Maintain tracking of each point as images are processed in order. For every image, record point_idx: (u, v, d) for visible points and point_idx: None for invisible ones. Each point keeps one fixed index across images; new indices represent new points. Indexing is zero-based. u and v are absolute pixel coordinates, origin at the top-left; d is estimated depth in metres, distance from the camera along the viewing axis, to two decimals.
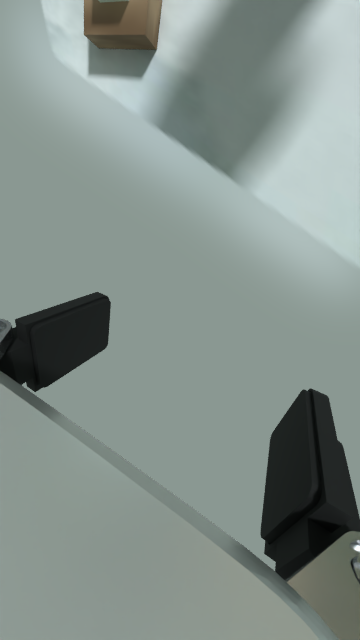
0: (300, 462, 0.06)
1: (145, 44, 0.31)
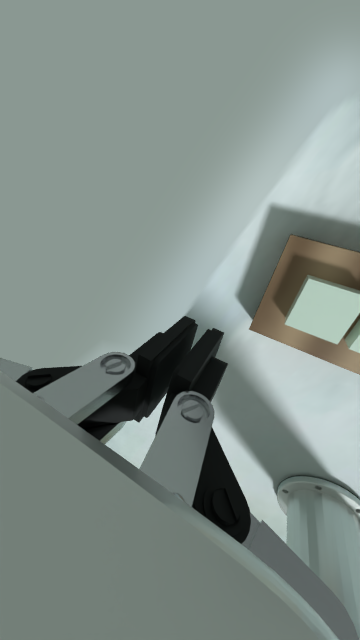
0: None
1: (255, 315, 0.27)
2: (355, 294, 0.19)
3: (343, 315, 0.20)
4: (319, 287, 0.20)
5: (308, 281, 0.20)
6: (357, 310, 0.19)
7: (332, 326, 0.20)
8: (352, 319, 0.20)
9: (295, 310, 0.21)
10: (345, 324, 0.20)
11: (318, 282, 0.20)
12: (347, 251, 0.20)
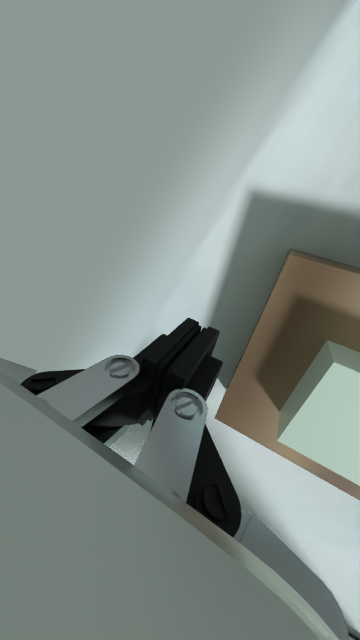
0: None
1: None
2: None
3: None
4: (359, 385, 0.08)
5: (332, 368, 0.08)
6: None
7: None
8: None
9: (300, 420, 0.10)
10: None
11: (358, 373, 0.08)
12: None
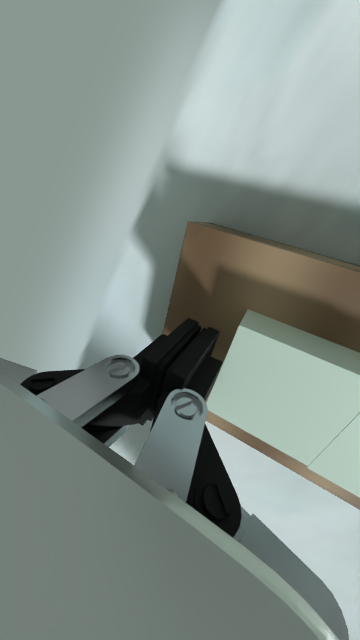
0: None
1: None
2: (346, 372, 0.07)
3: (318, 413, 0.08)
4: (262, 346, 0.08)
5: (239, 331, 0.09)
6: (352, 409, 0.08)
7: (295, 430, 0.09)
8: (339, 425, 0.08)
9: (220, 386, 0.10)
10: (323, 432, 0.09)
11: (260, 335, 0.08)
12: (301, 258, 0.09)
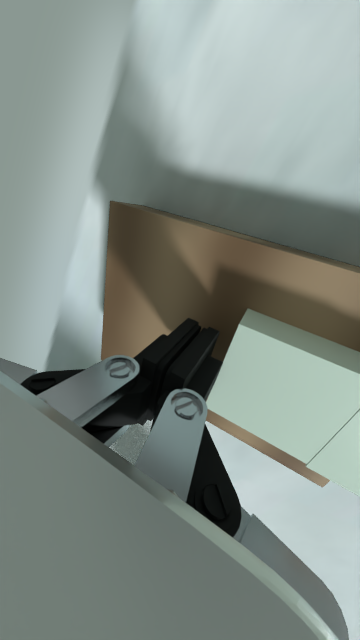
0: None
1: None
2: (345, 371, 0.07)
3: (318, 411, 0.08)
4: (262, 345, 0.08)
5: (239, 329, 0.09)
6: (350, 406, 0.08)
7: (295, 428, 0.09)
8: (338, 423, 0.08)
9: (220, 385, 0.10)
10: (322, 430, 0.09)
11: (260, 334, 0.08)
12: (195, 228, 0.10)
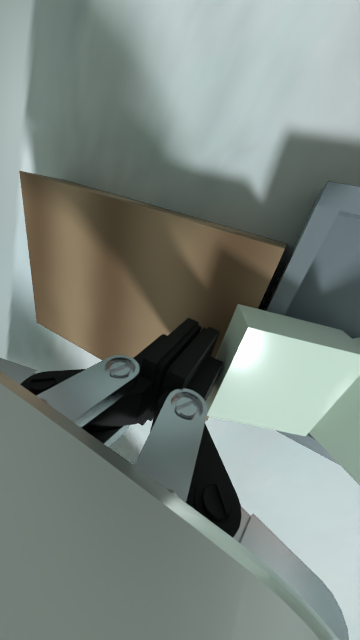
0: None
1: None
2: (346, 354, 0.08)
3: (319, 392, 0.09)
4: (272, 344, 0.08)
5: (247, 333, 0.08)
6: (347, 382, 0.09)
7: (297, 411, 0.10)
8: (335, 397, 0.09)
9: (225, 391, 0.09)
10: (321, 406, 0.09)
11: (270, 334, 0.08)
12: (81, 191, 0.12)
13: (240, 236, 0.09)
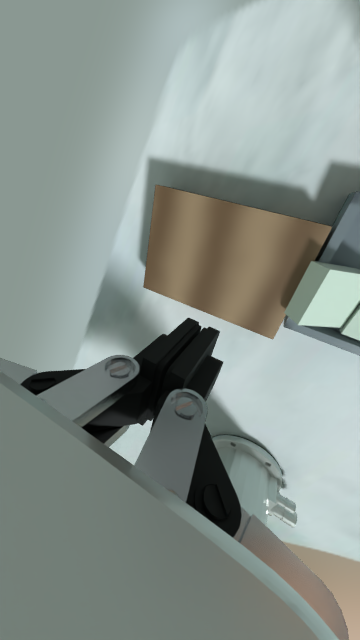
0: None
1: None
2: None
3: (352, 299, 0.18)
4: (337, 277, 0.17)
5: (328, 272, 0.16)
6: None
7: (341, 312, 0.19)
8: (358, 301, 0.18)
9: (310, 307, 0.18)
10: (352, 307, 0.19)
11: (338, 271, 0.16)
12: (202, 197, 0.20)
13: (307, 221, 0.17)
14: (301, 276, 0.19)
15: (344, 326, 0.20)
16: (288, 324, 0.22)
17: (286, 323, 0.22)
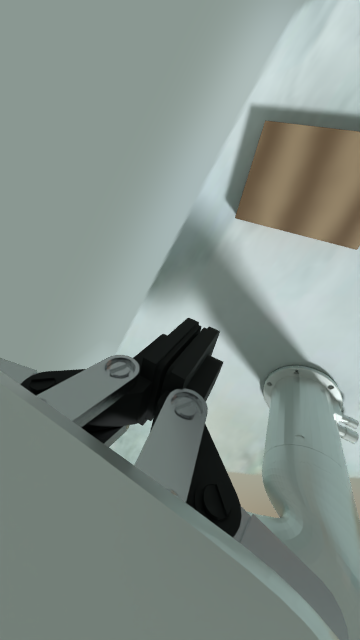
0: None
1: None
2: None
3: None
4: None
5: None
6: None
7: None
8: None
9: None
10: None
11: None
12: (308, 127, 0.25)
13: None
14: None
15: None
16: None
17: None
